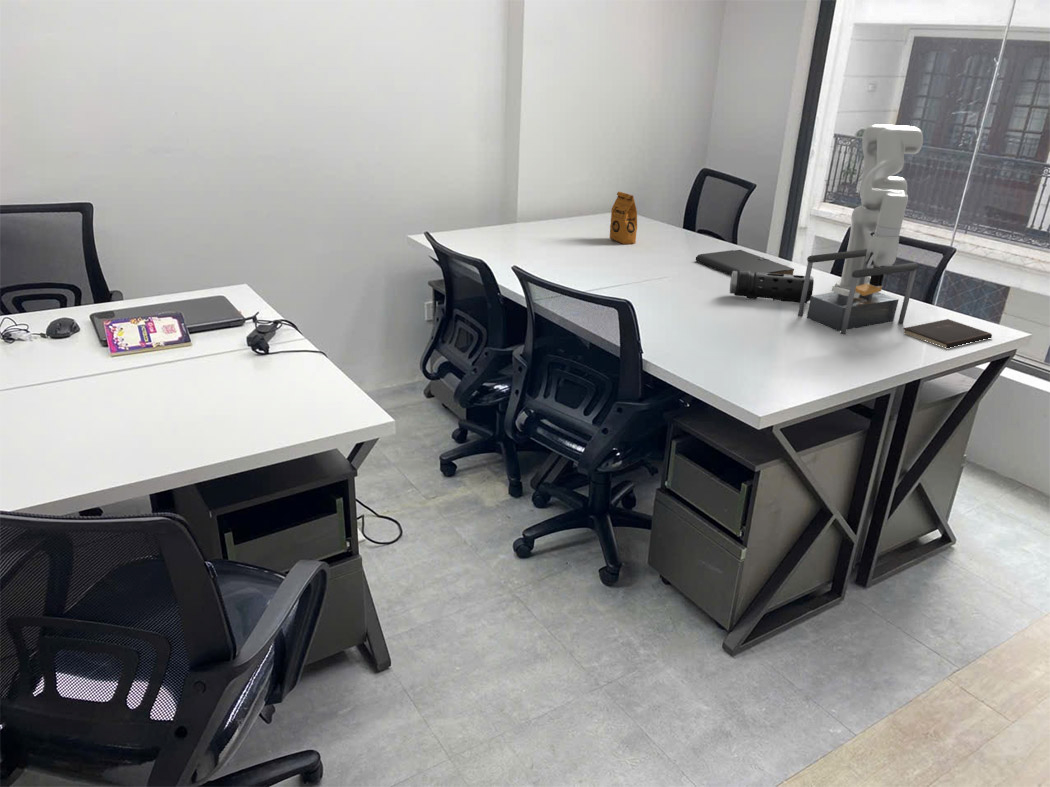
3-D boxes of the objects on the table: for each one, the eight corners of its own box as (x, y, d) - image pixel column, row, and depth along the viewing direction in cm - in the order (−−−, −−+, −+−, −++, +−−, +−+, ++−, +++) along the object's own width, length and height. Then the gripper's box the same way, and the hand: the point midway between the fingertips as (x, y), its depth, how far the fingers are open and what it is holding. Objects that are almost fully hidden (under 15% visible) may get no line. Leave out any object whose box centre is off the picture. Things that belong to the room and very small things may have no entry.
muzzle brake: (809, 307, 276) (815, 279, 271) (729, 300, 280) (733, 272, 276) (806, 300, 284) (811, 272, 280) (728, 293, 289) (732, 266, 285)
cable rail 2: (899, 322, 263) (914, 261, 254) (905, 324, 261) (920, 263, 253) (837, 333, 251) (851, 269, 242) (843, 335, 249) (857, 271, 240)
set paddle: (846, 293, 262) (848, 289, 261) (858, 298, 258) (860, 293, 257) (831, 290, 258) (832, 285, 257) (842, 295, 254) (844, 290, 253)
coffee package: (620, 245, 351) (625, 196, 341) (606, 239, 361) (610, 191, 351) (639, 243, 355) (643, 195, 346) (624, 237, 365) (628, 190, 356)
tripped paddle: (869, 287, 266) (869, 282, 265) (881, 291, 262) (881, 286, 261) (852, 291, 263) (852, 286, 262) (863, 295, 259) (864, 291, 258)
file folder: (795, 268, 311) (748, 274, 301) (793, 277, 312) (747, 284, 303) (740, 248, 337) (696, 254, 328) (739, 257, 339) (695, 263, 329)
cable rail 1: (855, 306, 279) (867, 248, 270) (860, 307, 277) (873, 249, 268) (795, 315, 267) (806, 255, 258) (800, 317, 265) (811, 256, 256)
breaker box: (860, 309, 275) (866, 284, 271) (893, 321, 264) (899, 295, 260) (806, 318, 264) (811, 291, 260) (838, 331, 253) (844, 303, 249)
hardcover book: (901, 334, 254) (903, 328, 253) (946, 325, 264) (947, 318, 263) (946, 350, 241) (948, 344, 240) (990, 340, 251) (992, 333, 250)
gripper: (894, 227, 261) (881, 280, 269) (861, 230, 255) (850, 284, 263) (912, 232, 255) (899, 286, 263) (880, 235, 249) (868, 290, 256)
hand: (875, 285), depth 263 cm, fingers closed
